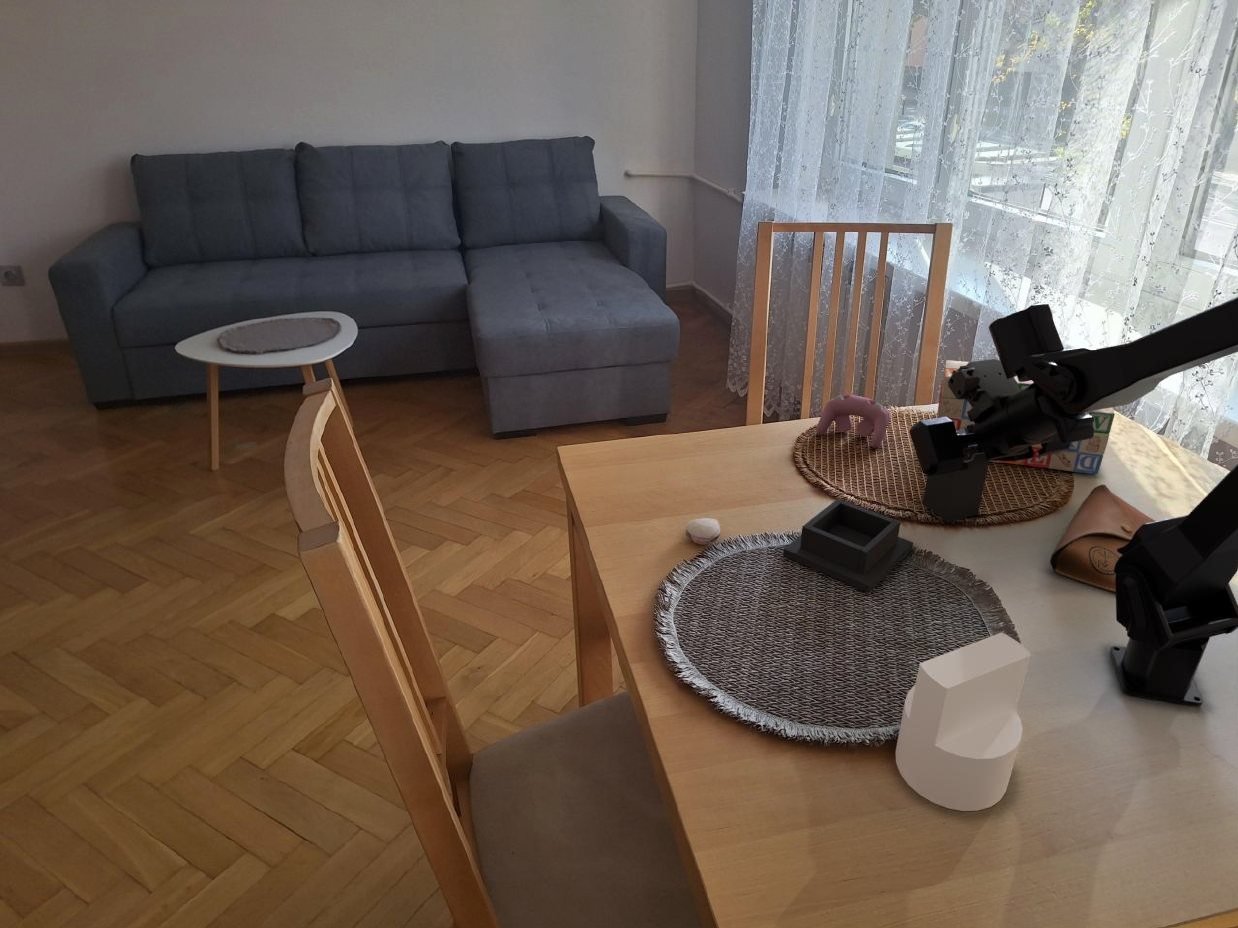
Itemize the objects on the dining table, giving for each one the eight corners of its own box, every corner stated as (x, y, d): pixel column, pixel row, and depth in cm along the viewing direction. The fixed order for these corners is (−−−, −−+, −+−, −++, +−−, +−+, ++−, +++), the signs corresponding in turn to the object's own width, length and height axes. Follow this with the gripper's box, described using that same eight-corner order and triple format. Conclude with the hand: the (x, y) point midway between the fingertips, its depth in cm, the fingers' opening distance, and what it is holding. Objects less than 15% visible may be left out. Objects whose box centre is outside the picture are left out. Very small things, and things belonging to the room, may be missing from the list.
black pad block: (978, 515, 105) (993, 444, 100) (944, 521, 103) (958, 450, 99) (954, 496, 109) (968, 428, 104) (922, 502, 108) (934, 433, 103)
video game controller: (885, 450, 123) (896, 404, 123) (878, 449, 119) (890, 401, 119) (821, 435, 128) (832, 390, 127) (812, 433, 124) (824, 388, 123)
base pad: (912, 549, 98) (917, 520, 97) (868, 592, 92) (872, 563, 90) (830, 517, 105) (833, 490, 103) (782, 555, 98) (785, 527, 96)
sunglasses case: (1132, 595, 89) (1111, 540, 88) (1063, 600, 94) (1043, 548, 93) (1163, 521, 101) (1144, 472, 100) (1100, 530, 106) (1082, 483, 105)
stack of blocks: (1092, 455, 117) (1115, 374, 111) (1098, 476, 112) (1122, 393, 106) (932, 435, 124) (945, 358, 118) (930, 454, 119) (944, 374, 113)
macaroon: (679, 541, 101) (679, 523, 100) (700, 522, 105) (701, 505, 104) (709, 552, 99) (709, 535, 98) (730, 533, 102) (731, 516, 101)
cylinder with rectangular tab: (947, 827, 66) (974, 716, 60) (873, 746, 73) (891, 641, 67) (1032, 787, 69) (1065, 678, 63) (953, 713, 76) (976, 610, 70)
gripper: (1077, 337, 93) (995, 389, 108) (932, 358, 89) (866, 409, 104) (1113, 429, 91) (1023, 470, 105) (964, 455, 86) (892, 494, 101)
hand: (951, 458), depth 104 cm, fingers closed on black pad block, 5 cm apart
